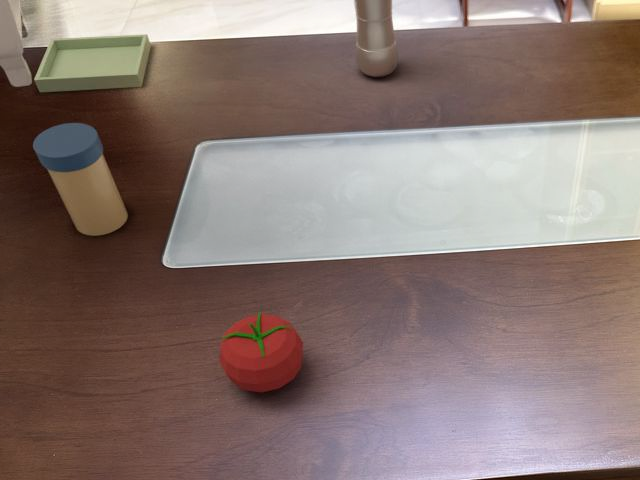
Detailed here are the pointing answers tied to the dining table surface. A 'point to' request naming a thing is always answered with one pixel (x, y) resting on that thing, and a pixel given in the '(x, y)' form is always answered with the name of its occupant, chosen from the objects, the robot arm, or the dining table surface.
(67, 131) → the jar lid
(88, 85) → the tray
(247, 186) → the dining table surface
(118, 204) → the jam jar
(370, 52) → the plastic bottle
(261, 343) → the tomato
